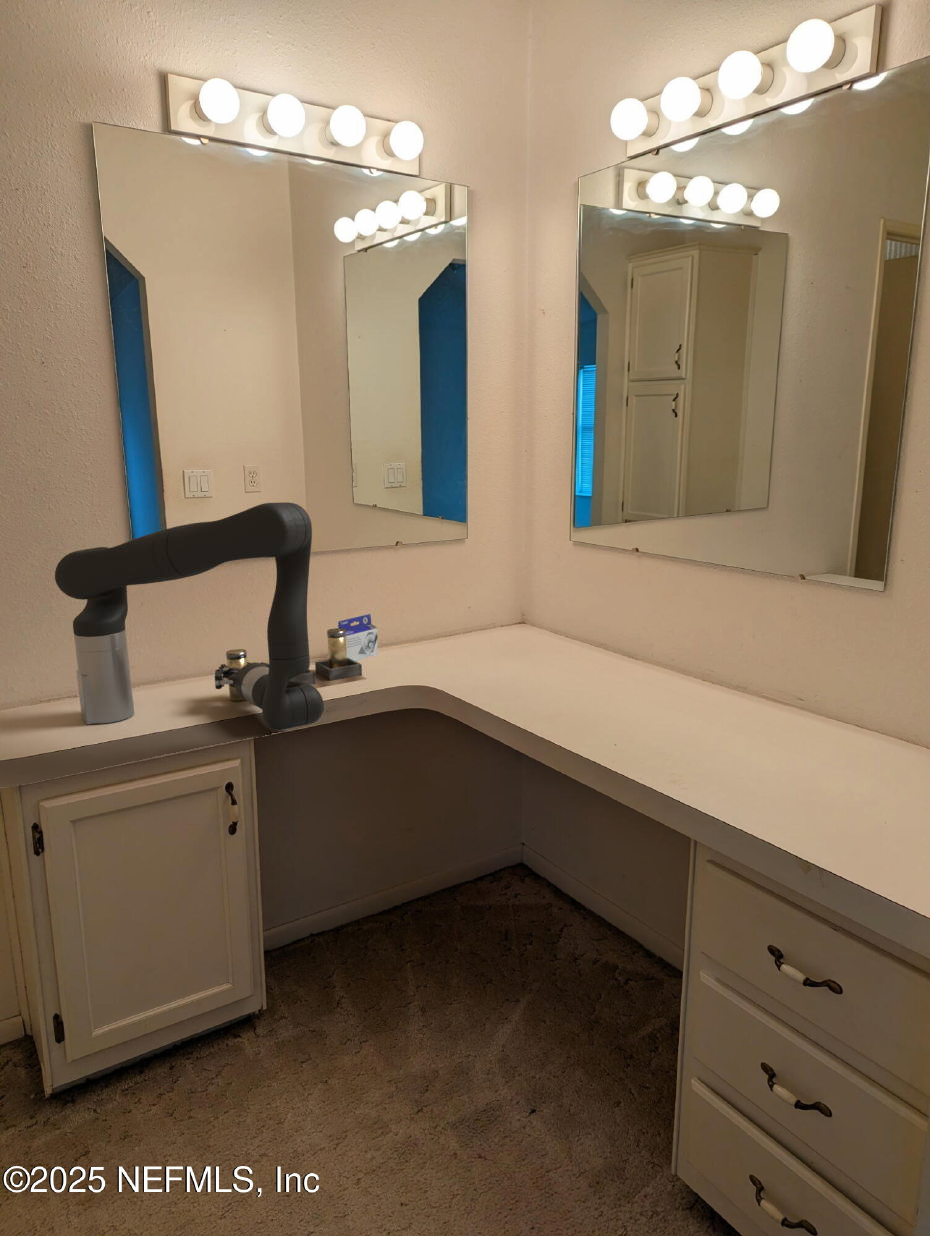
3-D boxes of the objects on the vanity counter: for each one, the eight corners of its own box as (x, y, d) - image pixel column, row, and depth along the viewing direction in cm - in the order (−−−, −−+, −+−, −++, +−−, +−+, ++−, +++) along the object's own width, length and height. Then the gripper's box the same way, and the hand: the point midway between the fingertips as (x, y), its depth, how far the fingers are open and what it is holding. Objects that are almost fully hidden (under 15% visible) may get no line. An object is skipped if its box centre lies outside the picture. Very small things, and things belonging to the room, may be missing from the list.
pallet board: (287, 700, 175) (286, 681, 174) (263, 684, 187) (262, 667, 186) (368, 685, 185) (367, 667, 184) (341, 670, 197) (340, 654, 196)
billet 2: (334, 677, 186) (331, 633, 184) (326, 673, 189) (324, 630, 187) (351, 674, 188) (348, 630, 186) (343, 670, 191) (341, 627, 189)
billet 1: (233, 702, 174) (229, 654, 172) (226, 697, 177) (223, 651, 175) (252, 698, 176) (249, 651, 174) (246, 693, 180) (242, 648, 178)
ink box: (346, 671, 196) (343, 622, 194) (338, 669, 198) (336, 621, 195) (379, 660, 205) (377, 614, 203) (372, 659, 207) (370, 612, 204)
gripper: (294, 661, 167) (264, 645, 181) (223, 673, 159) (197, 654, 173) (297, 698, 168) (266, 678, 182) (226, 711, 161) (200, 690, 175)
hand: (233, 667), depth 178 cm, fingers closed on billet 1, 4 cm apart
